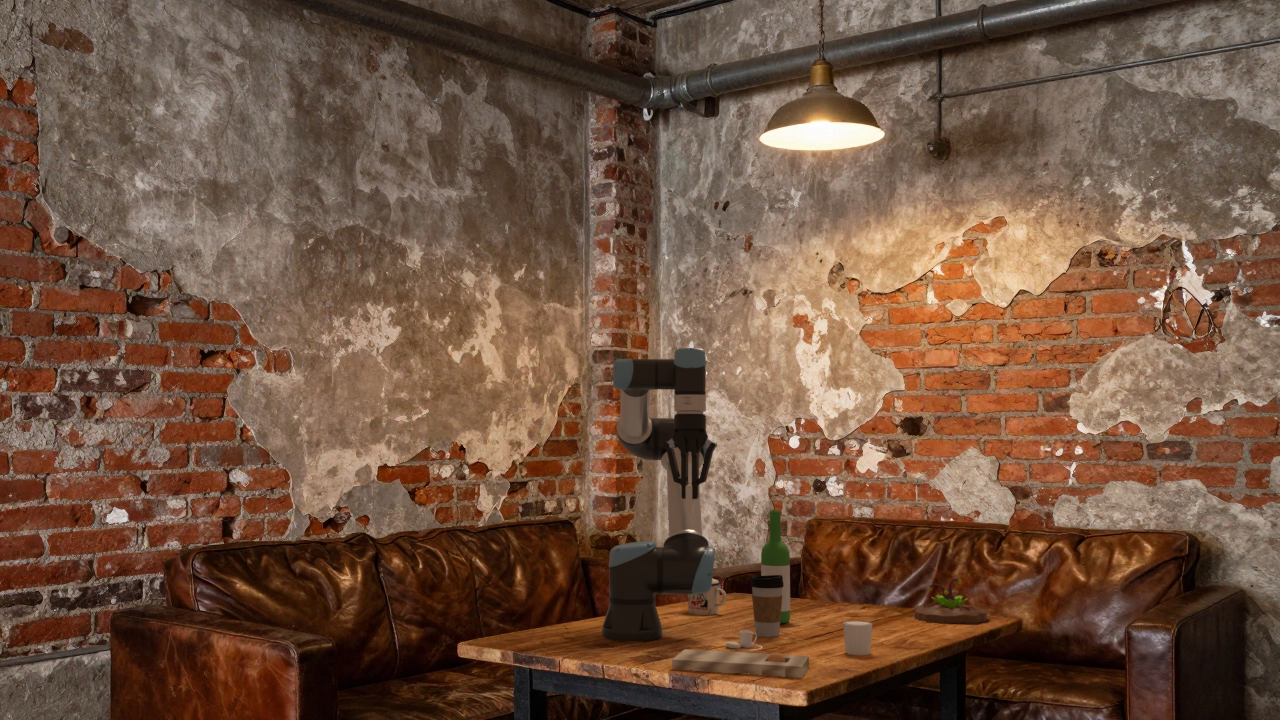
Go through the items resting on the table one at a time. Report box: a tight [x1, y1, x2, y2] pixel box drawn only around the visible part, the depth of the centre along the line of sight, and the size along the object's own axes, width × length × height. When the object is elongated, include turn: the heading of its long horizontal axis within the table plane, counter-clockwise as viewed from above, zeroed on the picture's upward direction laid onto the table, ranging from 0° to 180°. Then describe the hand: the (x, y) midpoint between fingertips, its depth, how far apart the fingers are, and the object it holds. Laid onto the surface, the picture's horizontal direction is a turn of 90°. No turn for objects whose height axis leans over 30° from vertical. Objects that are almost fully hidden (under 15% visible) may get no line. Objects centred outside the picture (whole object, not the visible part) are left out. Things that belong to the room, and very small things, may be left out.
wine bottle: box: [760, 509, 791, 624], centre depth 315 cm, size 8×8×30 cm
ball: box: [767, 652, 785, 662], centre depth 250 cm, size 4×4×4 cm
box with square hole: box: [671, 648, 810, 679], centre depth 252 cm, size 28×12×2 cm, turn 75°
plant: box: [914, 577, 988, 625], centre depth 323 cm, size 20×20×11 cm
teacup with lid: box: [687, 578, 727, 616], centre depth 328 cm, size 12×9×12 cm
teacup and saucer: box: [725, 630, 763, 651], centre depth 277 cm, size 9×8×4 cm
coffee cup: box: [750, 575, 784, 638], centre depth 294 cm, size 8×8×15 cm
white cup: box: [842, 620, 873, 656], centre depth 271 cm, size 7×7×7 cm
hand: (690, 513), depth 273 cm, fingers closed
